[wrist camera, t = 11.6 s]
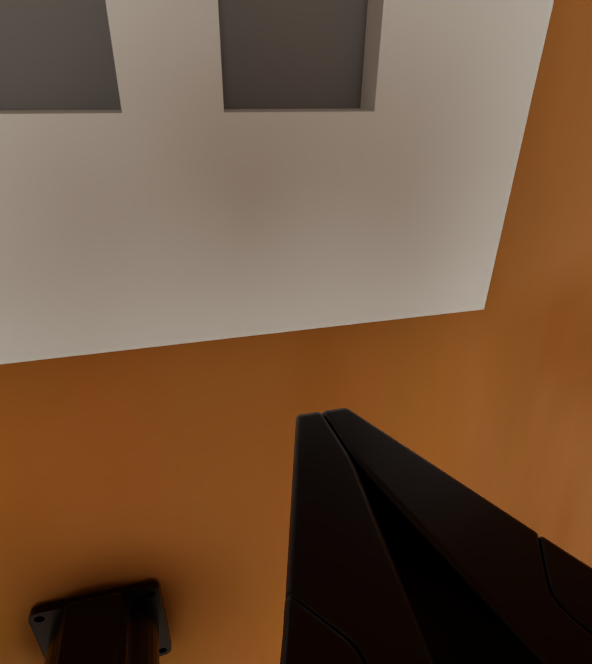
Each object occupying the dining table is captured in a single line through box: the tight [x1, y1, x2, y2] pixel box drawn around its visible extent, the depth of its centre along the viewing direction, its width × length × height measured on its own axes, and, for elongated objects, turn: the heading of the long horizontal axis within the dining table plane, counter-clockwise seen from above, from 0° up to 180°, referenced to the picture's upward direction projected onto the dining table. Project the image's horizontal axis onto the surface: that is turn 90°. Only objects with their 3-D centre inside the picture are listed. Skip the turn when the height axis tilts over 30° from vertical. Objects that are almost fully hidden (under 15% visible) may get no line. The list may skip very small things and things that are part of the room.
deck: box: [0, 0, 554, 364], centre depth 14 cm, size 13×28×4 cm, turn 89°
